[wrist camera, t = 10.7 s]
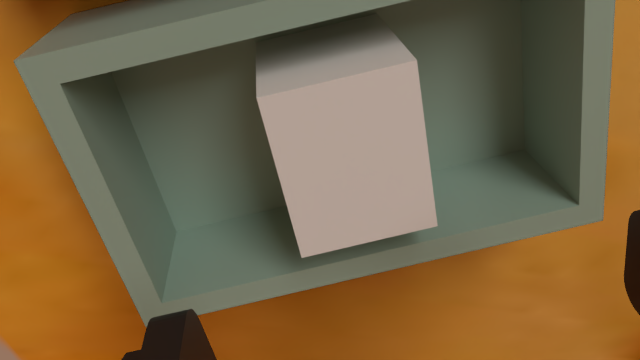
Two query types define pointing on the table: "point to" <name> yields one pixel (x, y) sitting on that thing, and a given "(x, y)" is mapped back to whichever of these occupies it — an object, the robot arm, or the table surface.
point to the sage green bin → (256, 156)
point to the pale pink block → (346, 133)
